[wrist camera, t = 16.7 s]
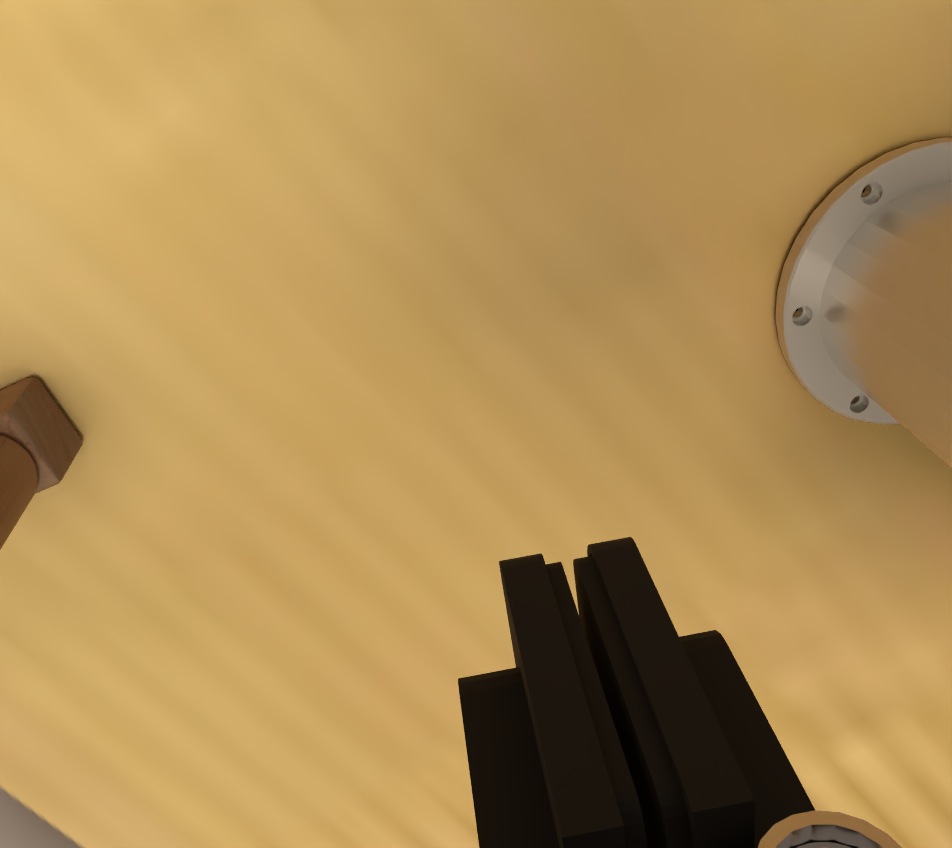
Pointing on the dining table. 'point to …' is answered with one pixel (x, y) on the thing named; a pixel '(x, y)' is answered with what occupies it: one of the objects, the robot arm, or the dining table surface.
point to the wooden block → (30, 448)
